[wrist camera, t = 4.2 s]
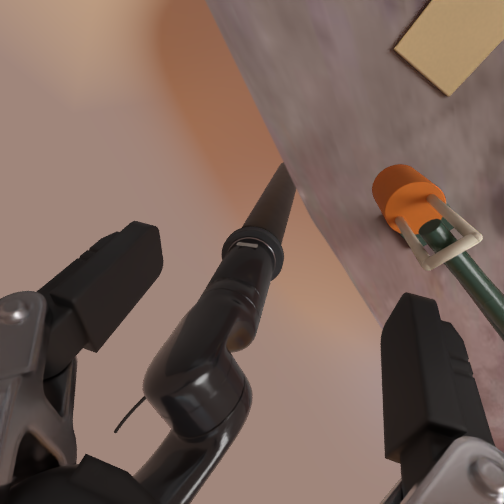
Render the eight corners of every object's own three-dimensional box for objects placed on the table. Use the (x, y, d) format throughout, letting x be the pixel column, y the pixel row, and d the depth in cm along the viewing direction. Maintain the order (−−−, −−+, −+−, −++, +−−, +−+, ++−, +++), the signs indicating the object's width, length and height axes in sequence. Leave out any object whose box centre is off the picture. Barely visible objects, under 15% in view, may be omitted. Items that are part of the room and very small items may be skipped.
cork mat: (447, 96, 41) (449, 96, 41) (393, 49, 40) (394, 48, 39) (535, 2, 35) (538, 1, 35) (474, -56, 34) (477, -59, 34)
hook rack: (459, 220, 48) (627, 369, 22) (413, 248, 52) (509, 405, 25) (392, 136, 45) (495, 191, 18) (348, 172, 48) (380, 263, 22)
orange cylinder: (430, 188, 34) (516, 259, 19) (389, 216, 36) (437, 299, 21) (402, 154, 33) (470, 201, 18) (362, 185, 35) (393, 250, 20)
